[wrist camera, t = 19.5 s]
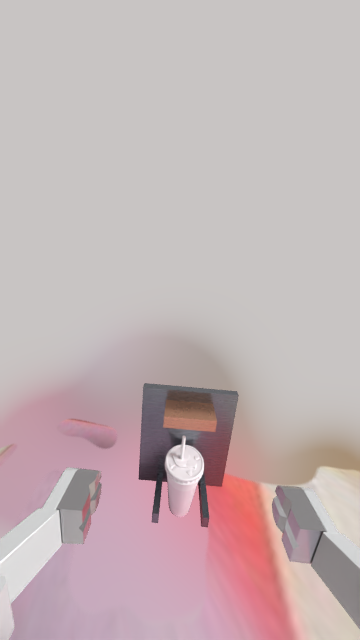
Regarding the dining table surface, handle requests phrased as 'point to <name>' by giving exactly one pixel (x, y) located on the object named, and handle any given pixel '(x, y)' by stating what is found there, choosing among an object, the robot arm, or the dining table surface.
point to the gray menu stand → (185, 434)
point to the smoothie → (182, 476)
